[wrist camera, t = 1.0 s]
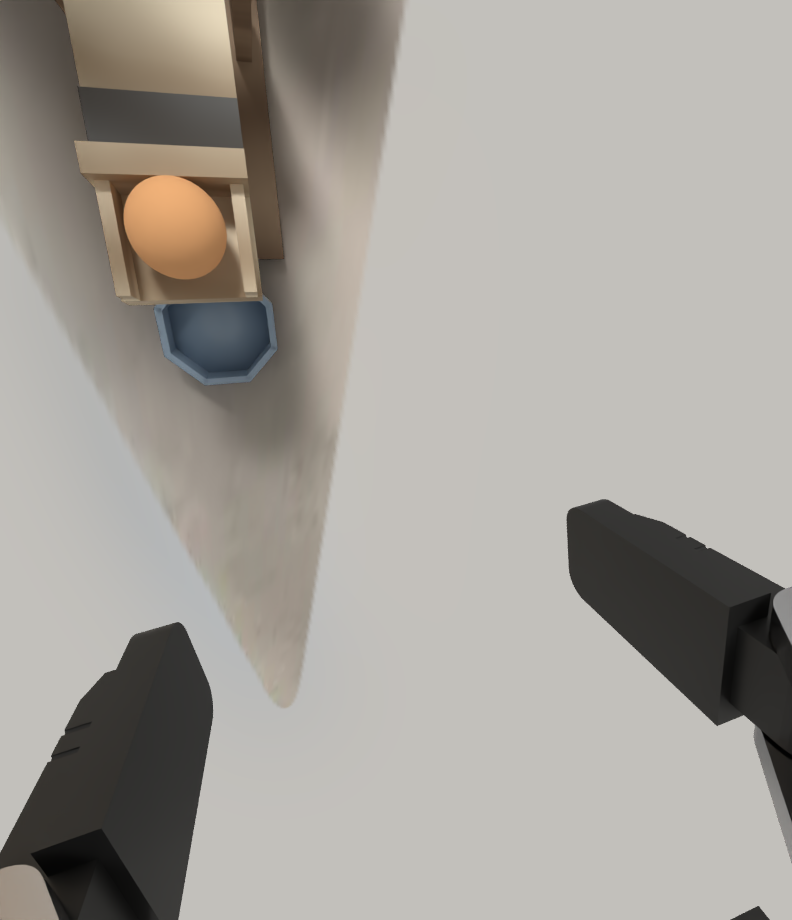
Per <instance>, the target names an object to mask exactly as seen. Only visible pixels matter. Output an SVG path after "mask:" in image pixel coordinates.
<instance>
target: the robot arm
mask: <svg viewBox="0 0 792 920" xmlns="http://www.w3.org/2000/svg"><path fill="white" fill-rule="evenodd" d="M567 537H568V559H569V573H570V576H571V580H572V583H573V585H574V587H575V589H576V591H577V592H578V594H579V595H580V596H581V598H582V599H583V600H584V601H585V602H586V603H587V604H589V605H590V606H591V607H592V608H593V609H594V610H595V611H596V612H597V613H598V614H599V615H600V616H601V617H602V618H603V619H604V620H605V621H607V622H608V623H609V624H610V625H611V626H612V627H613V628H614V629H615V630H616V631H617V632H618V633H619V634H620V635H621V636H622V637H623V638H625V639H626V640H627V641H628V642H629V643H630V644H631V645H632V646H633V647H634V648H635V649H636V650H637V651H638V652H639V653H641V655H642V656H644V657H645V658H646V659H647V660H648V661H649V662H650V663H651V664H652V665H653V666H654V667H655V668H656V669H657V670H658V671H659V672H661V673H662V674H663V675H664V676H665V677H666V678H667V679H668V680H669V681H670V682H671V683H672V684H673V685H674V686H675V687H676V688H677V689H679V690H680V691H681V692H682V693H683V694H684V695H685V696H686V697H687V698H688V699H689V700H690V701H691V702H693V704H695V706H696V707H698V708H699V709H700V710H701V711H702V712H703V713H704V714H705V715H706V716H707V717H708V718H709V719H710V720H711V721H712V722H713V723H714V724H716V725H717V726H718V725H721V724H723V723H725V722H728V721H730V720H733V719H735V718H738V717H740V716H743V715H745V716H746V717H747V718H748V719H749V720H750V721H752V722H753V723H754V724H755V729H754V741H755V745H756V748H757V752H758V755H759V758H760V761H761V765H762V768H763V771H764V775H765V778H766V781H767V784H768V788H769V791H770V794H771V797H772V800H773V804H774V807H775V810H776V813H777V817H778V820H779V823H780V826H781V830H782V833H783V836H784V839H785V843H786V846H787V849H788V852H789V856H790V859H791V862H792V587H790V588H787V589H785V588H783V587H781V586H779V585H778V584H775V583H774V582H772V581H770V580H768V579H766V578H765V577H763V576H761V575H759V574H757V573H755V572H754V571H752V570H750V569H748V568H746V567H744V566H743V565H741V564H739V563H737V562H735V561H733V560H731V559H729V558H728V557H726V556H724V555H722V554H721V553H719V552H717V551H715V550H713V549H711V548H708V549H707V548H706V547H705V545H704V544H702V543H700V542H698V541H697V540H695V539H693V538H691V537H689V538H687V537H686V535H685V534H684V533H682V532H680V531H678V530H676V529H675V528H673V527H671V526H669V525H667V524H665V523H663V522H660V521H657V520H654V519H650V518H646V517H643V516H640V515H636V514H632V513H630V512H628V511H627V510H625V509H623V508H621V507H620V506H618V505H616V504H614V503H613V502H611V501H609V500H606V499H602V500H599V501H595V502H592V503H588V504H585V505H581V506H578V507H575V508H572V509H570V510H569V512H568V514H567ZM212 719H213V701H212V695H211V690H210V686H209V683H208V681H207V678H206V676H205V674H204V671H203V669H202V666H201V664H200V662H199V659H198V657H197V655H196V653H195V650H194V648H193V645H192V643H191V640H190V638H189V636H188V634H187V631H186V629H185V628H184V626H183V625H182V624H181V623H179V622H177V623H173V624H170V625H166V626H163V627H159V628H156V629H152V630H149V631H145V632H142V633H138V634H135V635H134V636H133V637H132V638H131V639H130V641H129V643H128V645H127V648H126V650H125V652H124V654H123V656H122V658H121V660H120V663H119V665H118V667H117V669H116V670H113V671H110V672H107V673H105V674H104V675H103V676H102V677H101V678H100V679H99V680H98V681H97V683H96V684H95V685H94V686H93V687H92V688H91V689H90V690H89V692H87V694H86V695H85V696H84V697H83V698H82V699H81V700H80V702H79V704H78V705H77V707H76V709H75V711H74V713H73V715H72V717H71V719H70V721H69V723H68V724H67V727H66V728H65V735H64V736H61V738H60V740H59V742H58V744H57V745H56V747H55V749H54V751H53V753H52V755H51V757H52V760H51V762H48V763H47V765H46V767H45V768H44V770H43V772H42V774H41V776H40V778H39V780H38V782H37V784H36V786H35V787H34V789H33V791H32V793H31V795H30V797H29V799H28V801H27V803H26V805H25V807H24V809H23V811H22V812H21V814H20V816H19V818H18V820H17V822H16V824H15V826H14V828H13V830H12V831H11V833H10V835H9V837H8V839H7V841H6V843H5V845H4V847H3V849H2V851H1V852H0V920H178V917H179V912H180V906H181V900H182V894H183V889H184V883H185V877H186V871H187V865H188V859H189V854H190V848H191V842H192V836H193V830H194V825H195V818H196V813H197V807H198V801H199V795H200V790H201V784H202V778H203V772H204V766H205V760H206V755H207V748H208V743H209V737H210V730H211V726H212ZM731 920H769V918H768V917H767V916H766V915H765V914H764V912H763V911H762V910H761V909H760V907H759V906H757V907H755V908H753V909H751V910H749V911H747V912H745V913H743V914H741V915H739V916H737V917H735V918H733V919H731Z"/></svg>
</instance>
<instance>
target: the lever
mask: <svg viewBox="0 0 792 920" xmlns="http://www.w3.org/2000/svg"><path fill="white" fill-rule="evenodd" d="M63 3H64V8H65V13H66V18H67V24H68V29H69V34H70V39H71V44H72V49H73V54H74V59H75V65H76V70H77V75H78V80H79V85H80V86H78V92H79V97H80V102H81V107H82V112H83V117H84V122H85V127H86V132H87V137H88V141H74V143H75V148H76V153H77V158H78V163H79V167H80V172H81V174H82V175H83V176H84V177H85V178H86V179H87V180H88V181H89V182H90V183H91V184H92V185H93V187H94V188H95V191H96V196H97V201H98V206H99V211H100V216H101V221H102V226H103V231H104V236H105V241H106V246H107V251H108V256H109V262H110V267H111V272H112V277H113V282H114V287H115V292H116V296H117V297H119V298H121V300H122V302H124V303H126V304H128V305H158V304H186V303H215V302H243V301H263V296H262V288H261V280H260V272H259V265H258V257H257V249H256V242H255V234H254V226H253V218H252V211H251V203H250V195H249V185H248V176H247V168H246V160H245V153H244V148H243V141H242V133H241V125H240V117H239V110H238V102H237V95H236V87H235V79H234V72H233V64H232V56H231V48H230V41H229V33H228V25H227V18H226V10H225V2H224V0H63ZM159 175H172V176H177V177H180V178H183V179H186V180H188V181H190V182H192V183H194V184H196V185H197V186H199V187H200V188H201V189H202V190H204V191H205V192H206V193H207V194H208V195H209V196H210V197H211V198H212V200H213V201H214V202H215V204H216V205H217V207H218V208H219V210H220V212H221V214H222V216H223V219H224V222H225V226H226V232H227V243H226V249H225V253H224V255H223V257H222V259H221V261H220V263H219V264H218V265H217V266H216V268H215V269H213V270H212V271H211V272H210V273H208V274H206V275H204V276H202V277H199V278H195V279H176V278H172V277H168V276H166V275H163V274H161V273H159V272H157V271H156V270H154V269H153V268H151V267H150V266H149V265H147V264H146V263H145V262H144V261H143V260H142V259H141V258H140V257H139V256H138V254H137V253H136V252H135V250H134V249H133V247H132V245H131V243H130V241H129V239H128V237H127V234H126V231H125V226H124V207H125V203H126V200H127V198H128V196H129V194H130V192H131V191H132V190H133V189H134V187H135V186H137V185H138V184H139V183H140V182H142V181H143V180H145V179H148V178H150V177H154V176H159Z"/></svg>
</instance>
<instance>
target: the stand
mask: <svg viewBox="0 0 792 920" xmlns="http://www.w3.org/2000/svg"><path fill="white" fill-rule="evenodd" d="M55 1H56V2H57V4H58V5H59V6H60V7H61V9H62V10H63V11H64V13H65V8H64V3H63V0H55ZM224 2H225V10H226V18H227V25H228V33H229V41H230V48H231V56H232V64H233V72H234V79H235V87H236V95H237V102H238V110H239V117H240V125H241V133H242V141H243V148H244V153H245V160H246V168H247V176H248V185H249V195H250V203H251V211H252V218H253V226H254V234H255V242H256V249H257V257H258V259H284V255H283V246H282V236H281V227H280V218H279V208H278V199H277V189H276V180H275V170H274V161H273V151H272V142H271V132H270V123H269V114H268V104H267V95H266V85H265V76H264V66H263V57H262V47H261V38H260V28H259V19H258V10H257V0H224ZM65 14H66V13H65Z"/></svg>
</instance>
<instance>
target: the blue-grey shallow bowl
mask: <svg viewBox="0 0 792 920" xmlns="http://www.w3.org/2000/svg"><path fill="white" fill-rule="evenodd" d="M262 296H263V301H243V302H215V303H186V304H158V305H156V306H155V307H154V313H155V317H156V322H157V326H158V330H159V335H160V339H161V344H162V348H163V353H164V357H166V358H167V359H169V360H170V361H171V362H173V363H174V364H176V365H177V366H178V367H180V368H181V369H183V370H184V371H185V372H187V373H188V374H190V375H191V376H192V377H194V378H195V379H197V380H198V381H199V382H201V383H202V384H204V385H216V384H229V383H242V382H251V380H252V379H253V378H254V377H255V376H256V375H257V373H258V372H259V371H260V370H261V369H262V367H263V366H264V365H265V364H266V363H267V361H268V360H269V359H270V358H271V357H272V355H273V354H274V353H275V352H276V351H277V349H278V348H277V340H276V332H275V323H274V315H273V307H272V303H271V301H270V300H269V299H268V298H267V297H266V296H264V295H263V294H262Z"/></svg>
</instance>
